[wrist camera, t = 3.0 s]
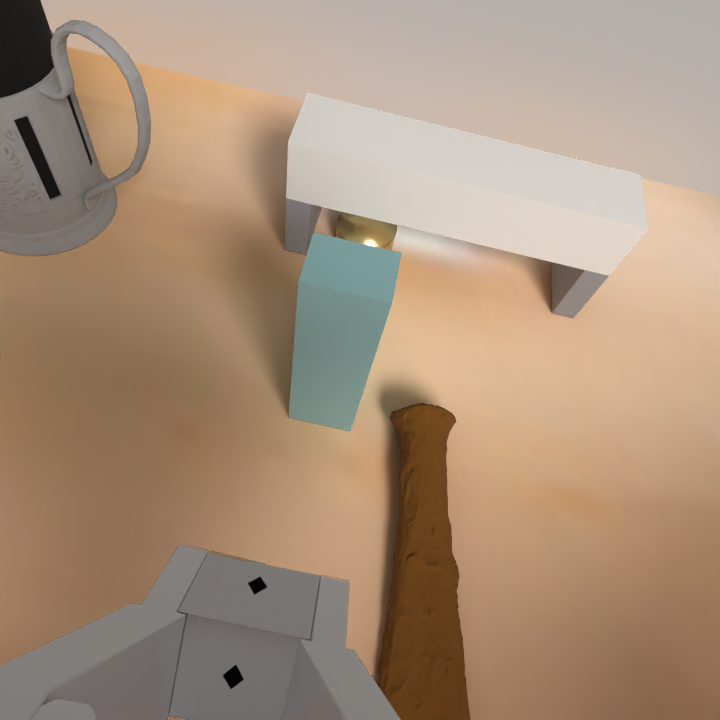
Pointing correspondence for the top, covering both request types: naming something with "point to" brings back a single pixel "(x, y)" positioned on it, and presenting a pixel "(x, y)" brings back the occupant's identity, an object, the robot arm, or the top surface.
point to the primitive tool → (424, 580)
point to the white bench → (463, 192)
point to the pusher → (338, 327)
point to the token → (365, 230)
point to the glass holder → (53, 136)
